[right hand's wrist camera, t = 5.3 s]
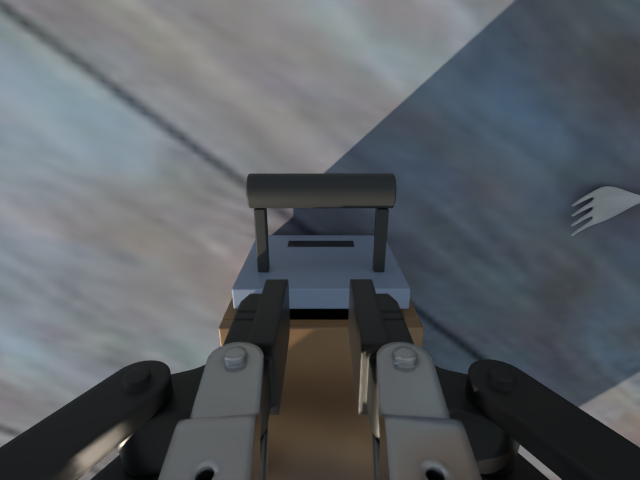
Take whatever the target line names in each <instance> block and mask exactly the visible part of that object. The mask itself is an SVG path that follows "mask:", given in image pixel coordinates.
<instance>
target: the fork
mask: <svg viewBox="0 0 640 480" xmlns="http://www.w3.org/2000/svg"><path fill="white" fill-rule="evenodd" d="M592 197H593V200H592V201H591V202H590V203H588V204H587V205H585V206H583V207H582V208H580V209H579V210H577V211H576V212H575V213H573V214H572V215H571V216H575V215H576V214H578V213H580V212H582V211H584V210H586V209H588V208H590V207H593V209H592V210H591V211H590V212H589V213H587V214H585V215H584V216H582V217H581V218H580V219H578V220H577V221H575V222H574V223H573V224H571V226H574V225H576V224H577V223H579V222H581V221H583V220H585V219H587V218H589V217H592V219H591V220H590V221H589V222H587V223H586V224H584V225H583V226H581V227H580V228H578V229H577V230H576V231H574V232H573V233H572V234H571V235H570V236H574V235H575V234H576V233H578V232H580V231H581V230H583V229H585V228H587V227H589V226H591V225H594V224H597V223H600V222H603V221H605V220H608V219H610V218H612V217H614V216H616V215H617V214H619V213H621V212H623V211H625V210H627V209H629V208H630V207H632V206H634V205H636V204H639V203H640V195H638V194H634V193H631V192H628V191H626V190H623V189H620V188H617V187H611V186H605V187H601V188H599V189H597V190H595V191H593V192H591V193H589V194H587V195H586V196H584V197H583V198H581V199H579V200H578V201H577V202H575V203H574V204H572V205H571V206H572V207H574V206H575V205H577V204H579V203H581V202H583V201H585V200H587V199H589V198H592Z"/></svg>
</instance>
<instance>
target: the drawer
mask: <svg viewBox="0 0 640 480" xmlns="http://www.w3.org/2000/svg"><path fill="white" fill-rule="evenodd" d="M246 194H247V202H248V205H249V207H250V208H255V209H254V221H255V236H256V240H255V242H254V244H253V246H252V248H251V251H250V253H249V255H248V257H247V259H246V261H245V263H244V265H243V267H242V269H241V271H240V273H239V275H238V278H237V280H236V282H235V284H234V286H233V288H232V296H233V306H234V309H238V307H239V305H240V302H241V301H242V300H243V299H244V298H246V297H247V296H248V295H249V294H262V291H263V288H264V285H265V282H266V279H288V282H289V308H290V320H348V315H349V285H350V279H372V281H373V285H374V288H375V291H376V294H389V295H390V296H391V297H393V298H394V299H395V300H396V301H397V302H398V305H399V307H400V309H408V308H409V301H410V291H411V289H410V287H409V285H408V283H407V281H406V279H405V277H404V275H403V273H402V271H401V269H400V267H399V265H398V263H397V261H396V259H395V257H394V255H393V253H392V251H391V249H390V247H389V245H388V243H387V227H388V212H389V210H388V208H393V207H394V204H395V199H396V179H395V176H394V174H249V175H248V177H247V184H246ZM267 208H376V214H375V232H374V235H268V225H267Z"/></svg>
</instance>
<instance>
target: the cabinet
mask: <svg viewBox="0 0 640 480" xmlns="http://www.w3.org/2000/svg"><path fill="white" fill-rule="evenodd" d="M237 310H238V309H234V306H233V297H232V300H231V302H230V304H229V306H228V308H227V311H226V313H225V315H224V317H223V320H222V322H221V324H220V326H219V337H220V345H221V346H223V344H224V342H225V339H226V337H227V334H228V332H229V329H230V327H231V324H232V322H233V320H234V317H235V315H236V313H237ZM400 310H401V313H402V315H403V317H404V320H405V322H406V325H407V327H408V330H409V332H410V335H411V337H412V340H413V343H414V345H417V346H419V347H421V348H422V341H423V333H424V327H423V325H422V323H421V321H420V319H419V317H418V314H417V312H416V310H415V308H414V306H413V304H412V302H411V299H410V301H409V308H408V309H400ZM268 434H269V448H268V472H267V480H373V472H372V448H371V434H372V431H371V428H370V423H369V417H368V415H359V414H358V406H357V398H356V390H355V382H354V374H353V366H352V358H351V350H350V342H349V331H348V320H290V336H289V344H288V352H287V359H286V367H285V374H284V382H283V389H282V397H281V404H280V412H279V415H269V420H268Z"/></svg>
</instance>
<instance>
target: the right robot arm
mask: <svg viewBox="0 0 640 480" xmlns="http://www.w3.org/2000/svg"><path fill="white" fill-rule="evenodd" d="M348 331H349V342H350V350H351V358H352V366H353V374H354V382H355V390H356V398H357V406H358V414H359V415H368V417H369V423H370V428H371V431H372V434H371V448H372V472H373V480H549V479H548V478H547V477H546V476H545V475H543V474H542V473H541V472H540V471H539V470H538V469H536V468H535V467H534V466H533V465H532V464H531V463H529V462H528V461H527V460H526V459H525V458H524V457H522V456H521V455H520V454H519V453H518V449H519V446H520V445H521V446H523V447H524V448H525V449H526V450H527V451H529V452H530V453H531V454H532V455H533V456H535V457H536V458H537V459H538V460H539V461H541V462H542V463H543V464H544V465H545V466H547V467H548V468H549V469H550V470H551V471H553V472H554V473H555V474H556V475H557V476H559V477H560V478H561V479H562V480H640V447H638V446H636V445H635V444H633V443H632V442H630V441H629V440H627V439H626V438H624V437H623V436H621V435H620V434H618V433H616V432H615V431H613V430H612V429H610V428H609V427H607V426H606V425H604V424H603V423H601V422H600V421H598V420H596V419H595V418H593V417H592V416H590V415H589V414H587V413H586V412H584V411H583V410H581V409H580V408H578V407H576V406H575V405H573V404H572V403H570V402H569V401H567V400H566V399H564V398H563V397H561V396H559V395H558V394H556V393H555V392H553V391H552V390H550V389H549V388H547V387H546V386H544V385H543V384H541V383H539V382H538V381H536V380H535V379H533V378H532V377H530V376H529V375H527V374H526V373H524V372H523V371H521V370H519V369H518V368H516V367H514V366H512V365H510V364H507V363H505V362H501V361H497V360H479V361H476V362H474V363H473V364H472V365H471V366H470V367H469V370H468V375H467V374H462V373H458V372H453V371H449V370H445V369H441V368H439V367H436V366H435V365H434V362H433V359H432V357H431V356H430V354H429V353H428V352H427V351H425V350H424V349H423V348H421V347H419V346H417V345H414V343H413V340H412V337H411V335H410V332H409V330H408V327H407V325H406V322H405V320H404V317H403V315H402V313H401V310H400V307H399V305H398V302H397V301H396V300H395V299H394V298H393V297H391V296H390V295H389V294H376V291H375V288H374V285H373V281H372V279H350V285H349V315H348ZM289 336H290V308H289V282H288V279H266V282H265V285H264V288H263V291H262V294H249V295H248V296H247V297H246V298H244V299H243V300H242V301H241V302H240V305H239V307H238V310H237V313H236V315H235V317H234V320H233V322H232V324H231V327H230V329H229V332H228V334H227V337H226V339H225V342H224V344H223V346H221V347H219V348H217V349H216V350H215V351H213V352H212V353H211V354H210V356H209V357H208V359H207V362H206V365H204V366H202V367H199V368H196V369H193V370H189V371H185V372H180V373H176V374H171V373H170V369H169V367H168V366H167V365H166V364H164V363H163V362H160V361H151V360H150V361H142V362H137V363H134V364H131V365H129V366H126V367H124V368H122V369H121V370H119V371H117V372H116V373H114V374H113V375H111V376H110V377H108V378H107V379H105V380H104V381H102V382H101V383H99V384H97V385H96V386H94V387H93V388H91V389H90V390H88V391H87V392H85V393H84V394H82V395H81V396H79V397H77V398H76V399H74V400H73V401H71V402H70V403H68V404H67V405H65V406H64V407H62V408H60V409H59V410H57V411H56V412H54V413H53V414H51V415H50V416H48V417H47V418H45V419H44V420H42V421H40V422H39V423H37V424H36V425H34V426H33V427H31V428H30V429H28V430H27V431H25V432H24V433H22V434H20V435H19V436H17V437H16V438H14V439H13V440H11V441H10V442H8V443H7V444H5V445H4V446H2V447H0V480H78V479H79V478H80V477H81V476H83V475H84V474H85V473H86V472H87V471H89V470H90V469H91V468H92V467H93V466H95V465H96V464H97V463H98V462H99V461H101V460H102V459H103V458H104V457H105V456H107V455H108V454H109V453H110V452H111V451H113V450H114V449H115V448H116V447H117V446H118V450H119V454H120V455H119V456H118V457H116V458H115V459H114V460H113V461H112V462H111V463H109V464H108V465H107V466H106V467H105V468H104V469H102V470H101V471H100V472H99V473H98V474H97V475H95V476H94V477H93V478H92V479H91V480H267V472H268V448H269V434H268V420H269V415H279V412H280V404H281V397H282V389H283V382H284V374H285V367H286V359H287V352H288V344H289Z"/></svg>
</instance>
